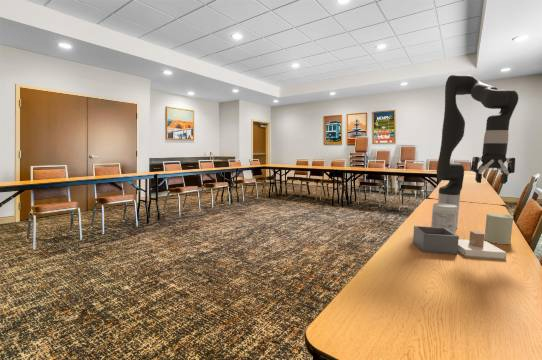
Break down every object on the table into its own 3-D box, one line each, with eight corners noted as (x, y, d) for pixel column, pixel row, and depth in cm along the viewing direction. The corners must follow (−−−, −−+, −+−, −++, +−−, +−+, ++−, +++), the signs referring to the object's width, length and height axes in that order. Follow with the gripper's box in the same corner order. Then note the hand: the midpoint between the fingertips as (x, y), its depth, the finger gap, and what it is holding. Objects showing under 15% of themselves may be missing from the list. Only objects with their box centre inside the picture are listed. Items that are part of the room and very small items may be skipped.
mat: (449, 244, 117) (449, 243, 117) (484, 247, 115) (484, 246, 115) (465, 256, 104) (465, 255, 104) (505, 259, 101) (505, 258, 101)
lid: (449, 243, 117) (450, 226, 116) (485, 246, 115) (486, 229, 114) (464, 255, 104) (466, 236, 103) (506, 258, 102) (508, 239, 101)
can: (511, 246, 117) (514, 217, 115) (483, 241, 122) (486, 214, 121) (510, 240, 124) (513, 214, 123) (483, 236, 129) (486, 211, 128)
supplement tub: (435, 232, 135) (437, 202, 134) (458, 237, 128) (461, 205, 127) (427, 235, 129) (429, 204, 128) (450, 241, 122) (453, 207, 121)
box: (412, 242, 120) (414, 226, 119) (443, 244, 118) (445, 227, 117) (422, 251, 108) (423, 234, 107) (457, 254, 106) (458, 236, 105)
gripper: (510, 142, 113) (505, 182, 115) (470, 142, 116) (466, 181, 118) (522, 142, 106) (517, 185, 108) (479, 142, 109) (475, 183, 111)
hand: (490, 183), depth 113 cm, fingers open, 8 cm apart
